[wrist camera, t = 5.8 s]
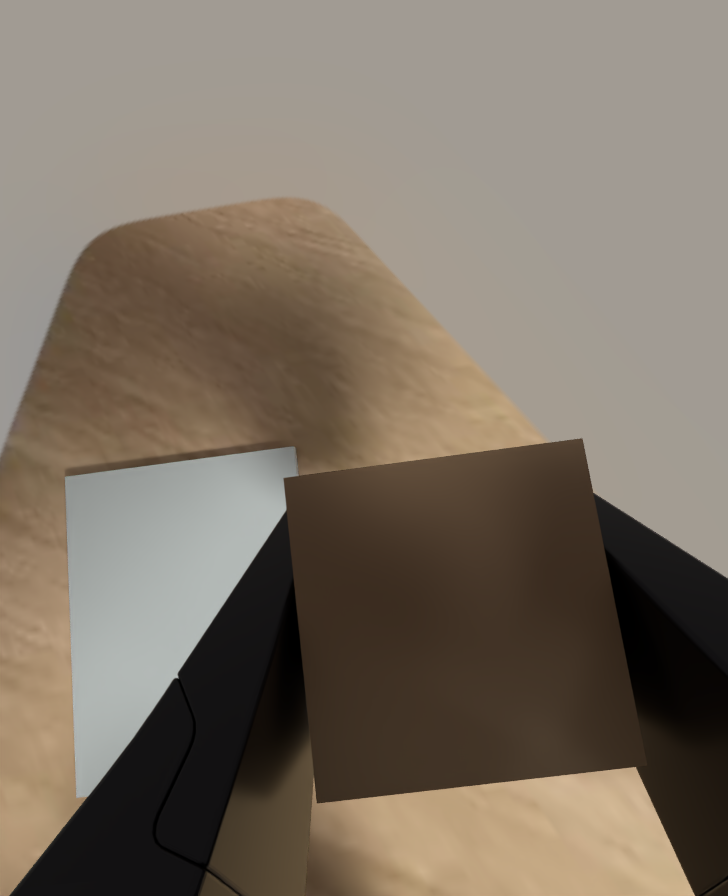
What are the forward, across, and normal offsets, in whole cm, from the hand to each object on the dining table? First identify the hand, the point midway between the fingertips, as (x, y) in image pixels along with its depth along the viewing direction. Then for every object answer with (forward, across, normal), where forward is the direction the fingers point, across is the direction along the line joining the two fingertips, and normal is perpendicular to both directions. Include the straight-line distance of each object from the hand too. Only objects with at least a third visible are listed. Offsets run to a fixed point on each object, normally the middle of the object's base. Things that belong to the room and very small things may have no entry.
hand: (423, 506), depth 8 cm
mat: (+7, +10, +12) cm, 17 cm away
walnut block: (+4, 0, +6) cm, 7 cm away
